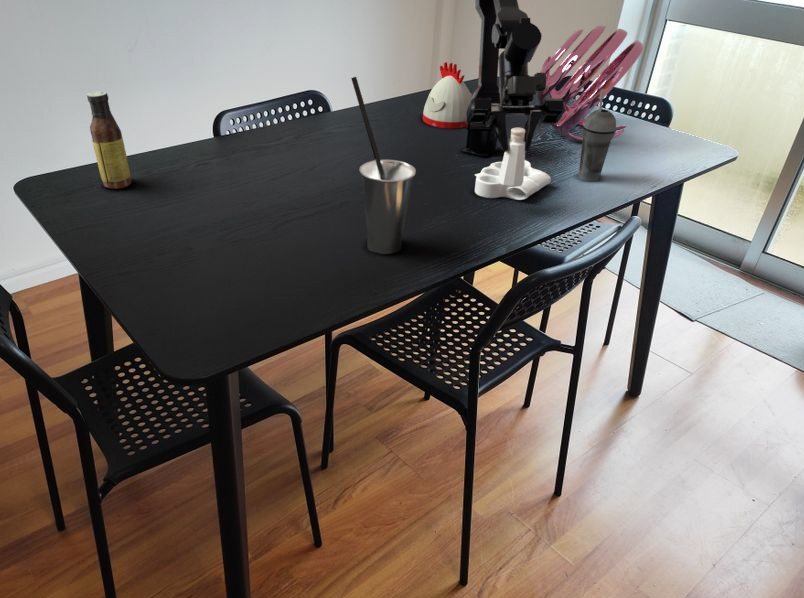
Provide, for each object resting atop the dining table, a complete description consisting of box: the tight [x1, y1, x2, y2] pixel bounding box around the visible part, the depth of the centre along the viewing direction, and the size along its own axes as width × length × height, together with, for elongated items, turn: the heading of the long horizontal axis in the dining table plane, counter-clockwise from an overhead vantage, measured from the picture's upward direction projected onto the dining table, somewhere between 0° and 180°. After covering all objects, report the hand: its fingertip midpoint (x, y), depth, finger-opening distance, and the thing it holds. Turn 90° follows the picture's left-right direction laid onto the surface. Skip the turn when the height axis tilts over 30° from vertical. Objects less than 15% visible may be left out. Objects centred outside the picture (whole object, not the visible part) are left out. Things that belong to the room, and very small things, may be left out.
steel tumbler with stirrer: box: [350, 76, 417, 255], centre depth 127 cm, size 11×11×30 cm
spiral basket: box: [536, 24, 645, 143], centre depth 181 cm, size 28×28×27 cm
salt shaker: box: [498, 126, 526, 187], centre depth 143 cm, size 5×5×11 cm
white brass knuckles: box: [474, 159, 552, 201], centre depth 159 cm, size 3×18×15 cm
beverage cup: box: [578, 89, 617, 182], centre depth 159 cm, size 7×7×20 cm
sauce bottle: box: [86, 90, 132, 190], centre depth 151 cm, size 7×6×20 cm
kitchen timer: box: [422, 61, 473, 129], centre depth 193 cm, size 14×14×15 cm
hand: (516, 151), depth 141 cm, fingers closed on salt shaker, 4 cm apart
